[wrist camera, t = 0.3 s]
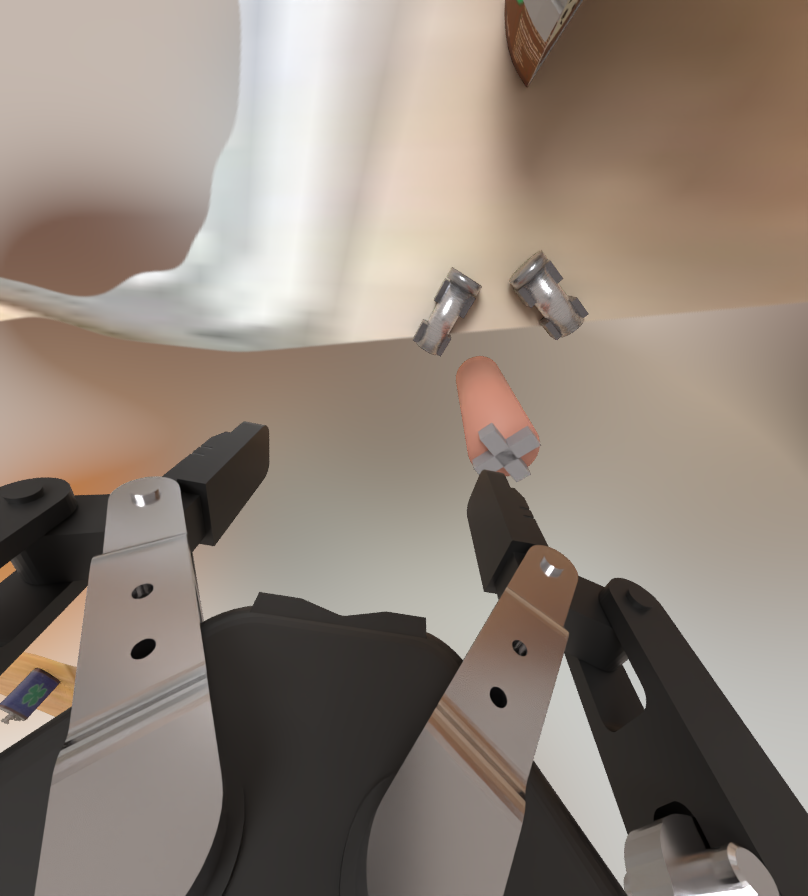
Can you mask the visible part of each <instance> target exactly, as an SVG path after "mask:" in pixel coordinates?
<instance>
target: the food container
mask: <svg viewBox="0 0 808 896" xmlns="http://www.w3.org/2000/svg"><path fill="white" fill-rule="evenodd" d="M582 1H583V0H505V29H506V37H507V43H508V49H509V52H510V55H511V58H512V62H513V64H514V67H515V69H516V71H517V73H518V75H519V77H520V78H521V80H522V81H523V82H524V84H525V85H526V87H528V85H529V84H530V82H531V81H532V79H533V77H534V76H535V74H536V73H537V71H538V70H539V68H540V67H541V65H542V63H543V62H544V60H545V59H546V57H547V56H548V54H549V53H550V51H551V49H552V48H553V46H554V45H555V43H556V42H557V40H558V39H559V37H560V36H561V34H562V32H563V31H564V29H565V28H566V26H567V25H568V23H569V22H570V20H571V18H572V17H573V15H574V14H575V12H576V11H577V9H578V8H579V6H580V4H581V3H582Z"/></svg>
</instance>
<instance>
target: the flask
mask: <svg viewBox="0 0 808 896" xmlns="http://www.w3.org/2000/svg"><path fill="white" fill-rule="evenodd" d="M59 683H61V682H60V681H59V680H58V679H56V678H55V677H53V676H51V675H50V674H49V673H46V672H45V671H44V670H41V669H39V668H36V669H34V670H33V671H32V672H31V673H30V674H29V675H28V676H27V677H26V678H25V679H24V680H23V681H22V682H21V683H20V684H19V685H18V686H17V687H16V688H15V689H14V690H13V691H12V692H11V693H10V694H9V695H8V696H7V697H6V698H5V700H3V701H2V702H1V703H0V709H1V710H3V711H5V712H7V713H9V715H7V716H6V717H5V719H2V720H1V721H2V722H4V723H7V724H9V720H10V719H11V720H13V719H14V720H15V721H20V720H22V721H25V720H26V719H27V718H28V717H29V716H30V715H31V714H32V713H33V712H34V711H35V710H36V708H37V707H38V706H39V705H40V704H41V703H42V702H43V701H44V700H45V699H46V698H47V696H48V695H49V694H50V693H51V692H52V691H53V690H54V689H55V688H56V687H57V685H59ZM15 718H16V719H15Z"/></svg>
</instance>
